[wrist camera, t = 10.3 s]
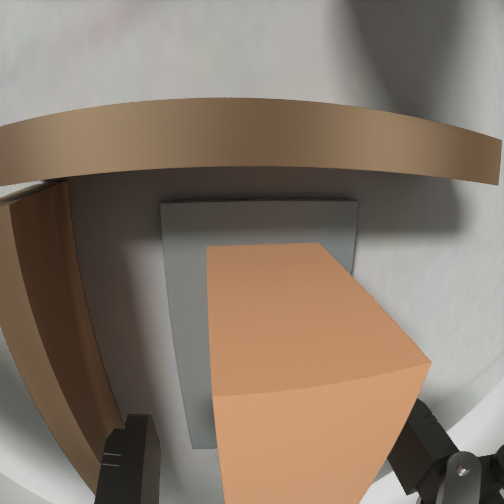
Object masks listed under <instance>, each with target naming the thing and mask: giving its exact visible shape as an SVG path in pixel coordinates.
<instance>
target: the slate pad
mask: <svg viewBox="0 0 504 504" xmlns="http://www.w3.org/2000/svg"><path fill="white" fill-rule="evenodd" d="M358 209H359V201H357V200H353V199H223V200H190V201H166V202H161V203H160V213H161V228H162V242H163V254H164V265H165V275H166V285H167V294H168V303H169V312H170V320H171V327H172V335H173V342H174V349H175V356H176V362H177V369H178V375H179V381H180V387H181V392H182V398H183V404H184V409H185V414H186V419H187V424H188V429H189V434H190V439H191V444H192V448H193V449H213V448H218V445H217V437H216V428H215V418H214V409H213V399H212V384H211V367H210V347H209V324H208V296H207V254H206V246H227V245H256V244H286V243H319V244H320V245H321V246H322V247H323V248H324V249H325V250H326V251H327V252H328V253H329V254H330V255H331V256H332V257H333V258H334V259H335V260H336V261H337V262H338V263H339V264H340V265H341V266H342V267H343V268H344V269H345V270H346V271H347V272H348V273H349V274H350V275H351V270H352V263H353V255H354V247H355V238H356V229H357V220H358Z"/></svg>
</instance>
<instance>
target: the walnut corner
mask: <svg viewBox="0 0 504 504" xmlns="http://www.w3.org/2000/svg"><path fill="white" fill-rule="evenodd" d="M501 147H502V140H500V139H497V138H494V137H490V136H487V135H484V134H481V133H477V132H474V131H470V130H467V129H463V128H459V127H456V126H452V125H448V124H444V123H440V122H435V121H431V120H427V119H422V118H418V117H413V116H408V115H403V114H397V113H392V112H386V111H381V110H374V109H368V108H361V107H354V106H347V105H339V104H330V103H321V102H310V101H298V100H283V99H263V98H188V99H168V100H153V101H141V102H131V103H122V104H113V105H105V106H98V107H91V108H85V109H78V110H73V111H67V112H61V113H56V114H51V115H46V116H41V117H37V118H32V119H28V120H24V121H20V122H16V123H12V124H8V125H4V126H0V186H5V185H11V184H18V183H24V182H31V181H38V180H45V179H53V178H60V177H69V176H77V175H87V174H97V173H107V172H119V171H132V170H146V169H163V168H184V167H217V166H286V167H319V168H340V169H357V170H371V171H384V172H396V173H406V174H416V175H426V176H434V177H443V178H451V179H458V180H465V181H472V182H479V183H486V184H492V185H498V183H499V173H500V162H501ZM0 326H1V329H2V332H3V334H4V337H5V339H6V342H7V345H8V347H9V349H10V352H11V354H12V357H13V359H14V361H15V364H16V366H17V368H18V370H19V372H20V375H21V377H22V379H23V381H24V383H25V385H26V387H27V389H28V391H29V393H30V395H31V397H32V399H33V401H34V403H35V405H36V407H37V408H38V410H39V412H40V414H41V416H42V417H43V419H44V421H45V423H46V424H47V426H48V428H49V429H50V431H51V433H52V434H53V436H54V438H55V439H56V441H57V443H58V444H59V446H60V447H61V449H62V450H63V452H64V453H65V455H66V456H67V458H68V459H69V461H70V462H71V464H72V465H73V467H74V468H75V469H76V471H77V472H78V474H79V475H80V476H81V478H82V479H83V480H84V482H85V483H86V484H87V486H88V487H89V488H90V489H91V491H92V492H93V493H94V495H95V496H96V490H97V484H98V479H99V473H100V468H101V466H102V463H101V462H102V457H103V455H104V453H103V452H104V447H105V442H106V439H107V438H108V436H109V435H110V434H111V432H112V431H113V429H114V428H118V429H125V426H124V423H123V421H122V418H121V415H120V413H119V410H118V407H117V405H116V402H115V399H114V396H113V394H112V391H111V388H110V385H109V382H108V379H107V376H106V373H105V370H104V366H103V363H102V360H101V357H100V353H99V350H98V346H97V343H96V339H95V335H94V332H93V328H92V324H91V320H90V316H89V312H88V308H87V303H86V299H85V295H84V290H83V285H82V280H81V275H80V270H79V265H78V259H77V253H76V247H75V241H74V234H73V227H72V219H71V211H70V202H69V192H68V181H60V182H52V183H44V184H37V185H32V186H30V187H27V188H24V189H22V190H19V191H17V192H14V193H11V194H9V195H6V196H4V197H1V198H0Z"/></svg>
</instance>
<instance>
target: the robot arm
mask: <svg viewBox="0 0 504 504" xmlns="http://www.w3.org/2000/svg"><path fill="white" fill-rule="evenodd" d="M103 453H104V455H103V457H102V462H101V463H102V466H101V468H100V473H99V479H98V484H97V490H96V497H95V502H94V504H159V479H160V443H159V439H158V436H157V433H156V429H155V426H154V423H153V419H152V416H151V415H144V414H128V416H127V421H126V426H125V429H118V428H114V429H113V431H112V432H111V434H110V435H109V436H108V438H107V439H106V442H105V447H104V452H103ZM387 459H388V461H389V463H390V465H391V466H392V468H393V470H394V472H395V474H396V476H397V477H398V480H399V482H400V483H401V485H402V487H403V489H404V491H405V493H406V495H410V494H412V493H414V492H418V493H419V495H420V496H419V497H418V499H417V502H416V504H504V499H503V498H502V496H501V494H500V492H499V491H500V490H501V489H502V488H503V489H504V445H503V446H501V447H500V448H499V450H498V451H497V452H496V453H495V454H492V455H487V456H481V457H476V456H475V455H474V454H472V453H470V452H466V451H459V450H458V449H457V447H456V446H455V444H454V443H453V442H452V440H451V439H450V437H449V436H448V434H447V433H446V432H445V430H444V429H443V428H442V426H441V425H440V423H438V422H437V419H436V418H435V416H434V415H432V412H431V411H430V410H429V408H428V407H427V406H426V404H425V403H423V402H422V401H420V400H419V399H418V398H417V399H416V401H415V403H414V405H413V408H412V410H411V412H410V414H409V416H408V418H407V420H406V422H405V424H404V426H403V428H402V430H401V432H400V434H399V436H398V438H397V440H396V442H395V444H394V446H393V448H392V449H391V451H390V453H389V455H388V457H387Z"/></svg>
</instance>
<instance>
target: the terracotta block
mask: <svg viewBox="0 0 504 504" xmlns="http://www.w3.org/2000/svg"><path fill="white" fill-rule="evenodd" d="M206 254H207V296H208V324H209V347H210V367H211V384H212V399H213V409H214V418H215V428H216V437H217V445H218V454H219V462H220V470H221V478H222V485H223V492H224V499H225V504H359V502H360V501H361V499H362V497H363V496H364V495H365V493H366V492H367V490H368V488H369V487H370V485H371V484H372V482H373V481H374V479H375V477H376V476H377V474H378V472H379V471H380V469H381V467H382V465H383V464H384V462H385V460H386V458H387V457H388V455H389V453H390V451H391V449H392V448H393V446H394V444H395V442H396V440H397V438H398V436H399V434H400V432H401V430H402V428H403V426H404V424H405V422H406V420H407V418H408V416H409V414H410V412H411V410H412V408H413V405H414V403H415V401H416V399H417V397H418V394H419V392H420V390H421V387H422V385H423V383H424V380H425V378H426V375H427V373H428V370H429V368H430V365H431V361H430V360H429V359H428V358H427V356H426V355H425V354H424V353H423V352H422V351H421V350H420V349H419V347H418V346H417V345H416V344H415V343H414V342H413V341H412V340H411V339H410V337H409V336H408V335H407V334H406V333H405V332H404V331H403V330H402V329H401V328H400V327H399V325H398V324H397V323H396V322H395V321H394V320H393V319H392V318H391V317H390V316H389V315H388V314H387V312H386V311H385V310H384V309H383V308H382V307H381V306H380V305H379V304H378V303H377V302H376V301H375V300H374V299H373V298H372V297H371V296H370V294H369V293H368V292H367V291H366V290H365V289H364V288H363V287H362V286H361V285H360V284H359V283H358V282H357V281H356V280H355V279H354V278H353V277H352V276H351V275H350V274H349V273H348V272H347V271H346V270H345V269H344V268H343V267H342V266H341V265H340V264H339V263H338V262H337V261H336V260H335V259H334V258H333V257H332V256H331V255H330V254H329V253H328V252H327V251H326V250H325V249H324V248H323V247H322V246H321V245H320V244H319V243H286V244H256V245H227V246H206Z"/></svg>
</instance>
